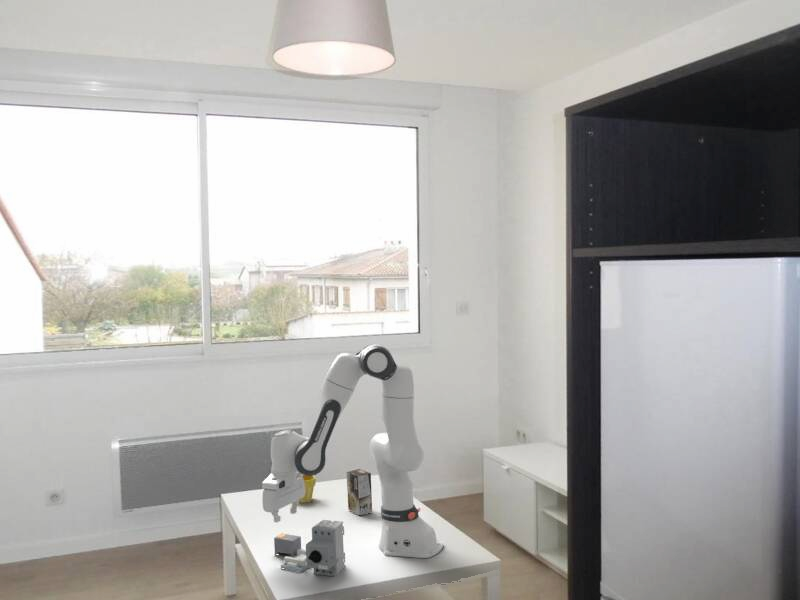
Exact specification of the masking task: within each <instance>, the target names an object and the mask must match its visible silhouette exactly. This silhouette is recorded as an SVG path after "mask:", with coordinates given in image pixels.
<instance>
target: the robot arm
mask: <svg viewBox="0 0 800 600" xmlns="http://www.w3.org/2000/svg"><path fill="white" fill-rule="evenodd" d="M365 375H368V376H370V377H373V378H375V379H378V380H381V383H382V395H381V397H382V398H381V419H382V422H383V424H384V427H385V430H386V432H378V433H376V434H375V435H374V436H372V438H371V439H370V442H369V452H370V454H371V456H372V457H373V460H374V463H375V465H376V470H377V474H378V477H379V482H380V487H381V489H380V491H381V507H380V512H381V513H380V514H381V516H380V517H381V518H380V519H381V535H380V541H379V545H378V548H379V550H380V551H382V552H383V554H384V555H385V556H392V557H393V556H394V557H404V558H408V557H409V558H417V559H428V558H431V557H434V556H435V555H437V554H438V553H440V552H441V551H442V550H443V548H444V542H443V541H441V540H437V536H436V535H437V534H436V531H435V529H434V527H432V525H430V524H429V523H427V521H425V520H424V519H423V518H422V517H421V516H420V515H419V513H420V512H421V507H418V508H417V507H416V505H415V504H414V485H413V481H412V479H411V477H410V475H409V473H408V472H414V471H417V470H418V469H419V468H420V467H421V466H422V464H423V462H424V458H425V457H424V456H425V455H424V450H423V449H422V447H421V445H420V442H419V440H418V435H417V433H416V427H415V423H414V403H415V389H414V387H415V386H414V385H415V384H414V376H413V371H412V370H411V368H410V367H409V366H407V365H406V364H401V363H396V361H395V359H394V358H393V355H392V354H391V352H390V350H389V349H388V348H387V347H386V346H384V345H383V344H378V343H371V344H369V345H367V346H365V347H364V348H362V349H361V350H360V351H358V352H357V353H355V354H353V353H349V352H342V353H340V354H338V355H337V356H336V358H335V359H334V360H333V362H332V364H331V365H330V367H329V368H328V371H327V373H326V375H325V377H324V380H323V382H322V384H321V388H320V393H319V398H318V399H319V403H318V404H319V407H318V415H317V418H316V421H315V423H314V427H313V428H312V431H311V434H310V436H309V437H307V436H303V435H301V434H300V433H298V432H296V431H295V430H293V429H285V430H281V431H280V430H279V431H278V432H276V433H274V435H273V436H272V437H271V442H270V459H271V464H272V465H271V468H270V470H271V471H270V472H271V473H270V474H269V475H268V476H267V477H266V478H265V479H264V480H263V481H262V483H261V487H262V489H263V491H262V510H263V511H264V512H266V513H270V514H271V515H272V517H273V522H274V523H279V522H280V521H281V520H282V519H281V515H279V511H280V510H281V509H283V508H285V507H286V506H289V505H291V508H289V510H290V511H289V512H290V514H291V515H294V514H297V510H298V505H299V499H301V498H303V497H304V496H305V483H304V479H303V475H306V476H316V475H319V473H321V472H322V471H323V469H324V468H325V465H326V451H327V450H326V449H327V446H328V444H329V442H330V441H329V440H330V438H331V436H332V434H333V431H334V428H335V426H336V424H337V422H338V420H339V418H340V416H341V415H342V413H343V411H344V410H345V408H346V407H347V405H348V404H349V401H350V400H351V398H352V396H353V394H354V392H355V390H356V387H357V385H358V382H359V380H361V378H362V377H363V376H365Z"/></svg>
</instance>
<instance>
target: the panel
mask: <svg viewBox="0 0 800 600" xmlns="http://www.w3.org/2000/svg"><path fill="white" fill-rule="evenodd" d="M283 559H284V560H283V561H284V562H283V563H282V564H280V569H281V568H284V569H283V570H286V569H288V570H287V571H291V570H292V571H291V572H296V573H302V572H304V571H305V570H306V569H308V568H307V563H306V549H303V548H301V549H297V555H296V556H294V557H291V556H287V555H286V556H284V558H283Z"/></svg>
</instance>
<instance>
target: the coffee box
mask: <svg viewBox="0 0 800 600" xmlns="http://www.w3.org/2000/svg"><path fill="white" fill-rule="evenodd" d="M371 475H372V473H371V472H368V471H366V470H363V469H360V468H359V469H354V470H351V471H350V470H349V471H346V487H347V507H348V509H347V510H350V511H352V512H354V513H356V514H358V515H362V516H364V515H363V514H366V515H369V514H368V513H370V514H372V513H373V500H372V499H373V498H372V476H371ZM350 511H349V512H350ZM352 512H351V513H352ZM371 512H372V513H371ZM354 513H353V514H354ZM356 514H355V515H356ZM358 515H357V516H358Z"/></svg>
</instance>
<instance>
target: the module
mask: <svg viewBox="0 0 800 600" xmlns="http://www.w3.org/2000/svg"><path fill="white" fill-rule="evenodd" d="M301 537H302V536H299V535H293V534H289V533H283V532H282V533H280V534H278V535H276V536H275V537H273V543H274V544H273V545H274V555H275V554H279V555H281V554H287V555H290V557H294V556H296V555H297V549H302V538H301ZM280 553H281V554H280Z"/></svg>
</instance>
